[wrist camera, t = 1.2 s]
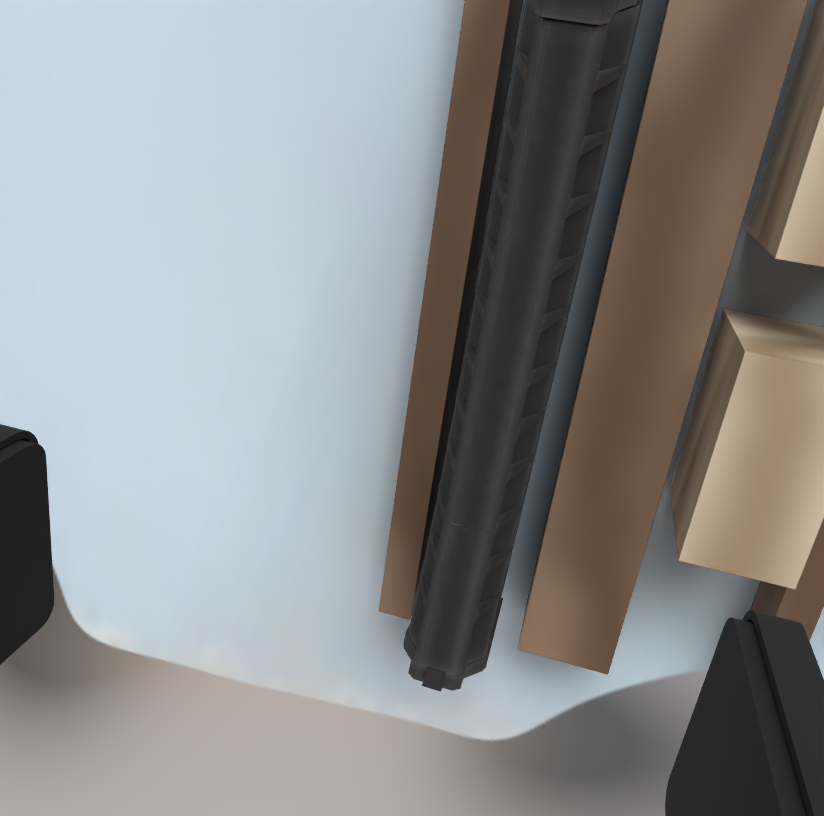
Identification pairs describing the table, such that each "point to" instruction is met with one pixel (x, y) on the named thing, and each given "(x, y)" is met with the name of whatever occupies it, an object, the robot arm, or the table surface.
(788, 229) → the offcut
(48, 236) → the table surface
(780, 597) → the rack
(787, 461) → the offcut
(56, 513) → the table surface
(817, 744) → the robot arm
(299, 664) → the table surface
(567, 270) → the magazine
